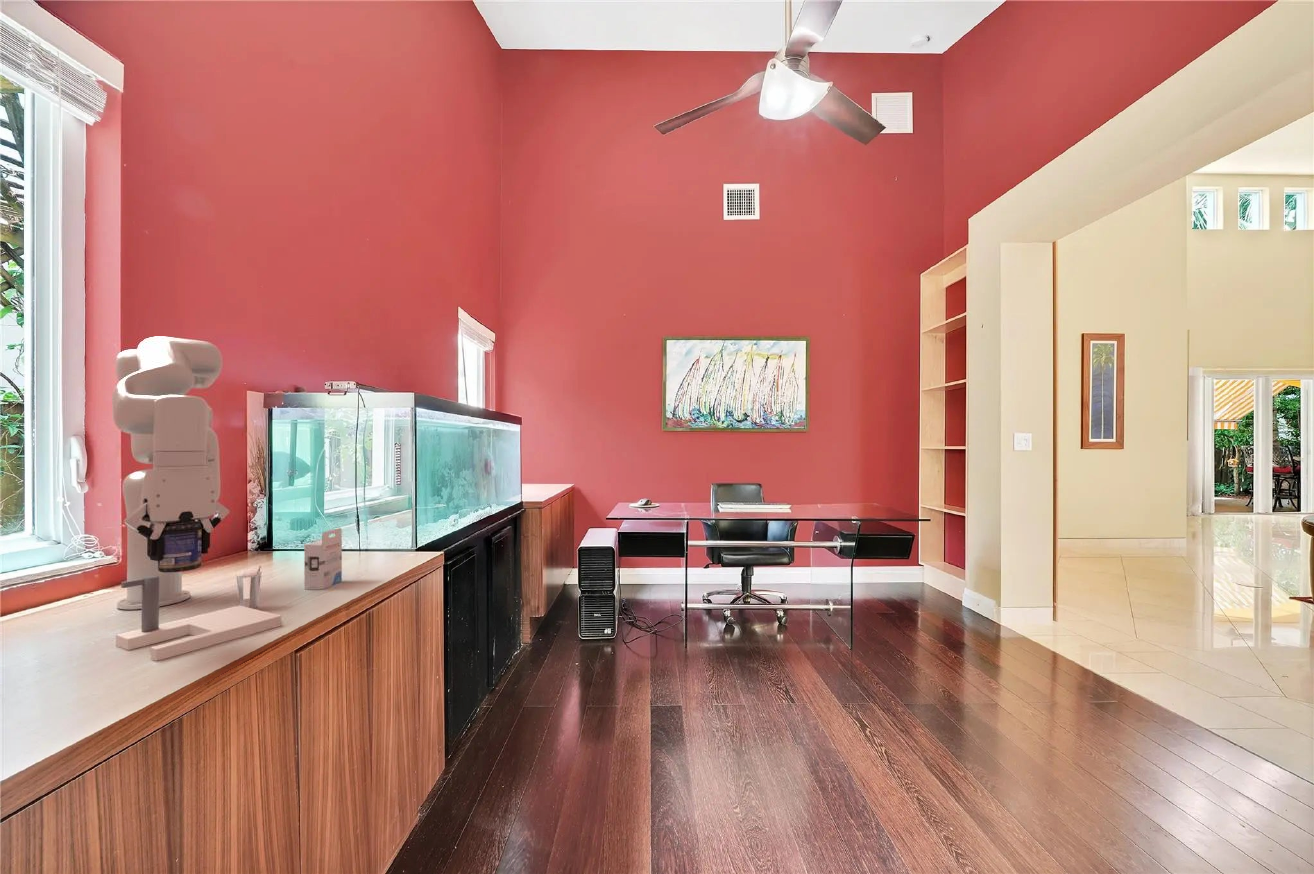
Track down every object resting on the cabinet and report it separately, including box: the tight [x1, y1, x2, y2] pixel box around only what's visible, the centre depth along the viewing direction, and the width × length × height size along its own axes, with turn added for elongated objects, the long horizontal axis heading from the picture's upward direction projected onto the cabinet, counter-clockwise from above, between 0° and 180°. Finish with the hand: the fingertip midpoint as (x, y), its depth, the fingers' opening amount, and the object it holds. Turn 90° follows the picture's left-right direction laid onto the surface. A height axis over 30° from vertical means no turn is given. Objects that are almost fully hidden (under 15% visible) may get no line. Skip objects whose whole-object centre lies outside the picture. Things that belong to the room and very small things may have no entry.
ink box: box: [303, 527, 343, 591], centre depth 141 cm, size 9×5×15 cm, turn 179°
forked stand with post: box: [115, 576, 282, 662], centre depth 104 cm, size 16×20×12 cm
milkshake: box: [236, 565, 262, 610], centre depth 120 cm, size 4×5×10 cm
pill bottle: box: [158, 511, 202, 573], centre depth 100 cm, size 6×6×11 cm
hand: (179, 555), depth 99 cm, fingers closed on pill bottle, 6 cm apart
